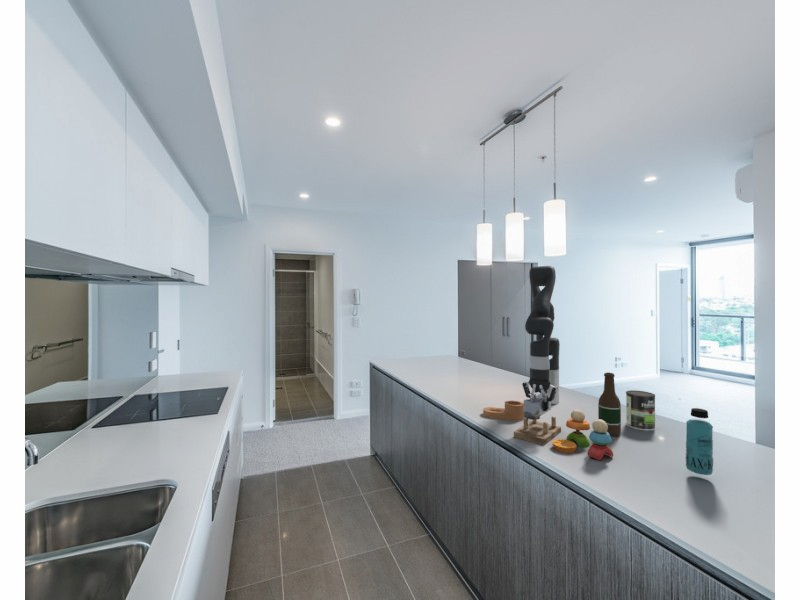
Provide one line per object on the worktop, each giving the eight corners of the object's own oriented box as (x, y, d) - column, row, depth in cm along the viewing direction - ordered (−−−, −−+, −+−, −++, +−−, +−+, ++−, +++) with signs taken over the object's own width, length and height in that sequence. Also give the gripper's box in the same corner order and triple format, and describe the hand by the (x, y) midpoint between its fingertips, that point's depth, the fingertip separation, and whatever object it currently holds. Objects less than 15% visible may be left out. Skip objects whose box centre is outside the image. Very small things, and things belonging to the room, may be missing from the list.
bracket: (524, 416, 167) (524, 401, 167) (523, 422, 159) (522, 406, 159) (485, 412, 174) (485, 397, 174) (481, 417, 166) (481, 402, 166)
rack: (531, 425, 155) (531, 410, 155) (561, 431, 147) (561, 416, 147) (513, 436, 141) (513, 421, 141) (544, 444, 133) (544, 428, 133)
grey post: (538, 407, 153) (538, 392, 153) (553, 409, 149) (553, 395, 149) (521, 417, 139) (520, 401, 140) (536, 420, 135) (536, 404, 136)
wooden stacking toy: (544, 446, 133) (544, 412, 133) (575, 438, 141) (575, 405, 141) (590, 466, 117) (590, 427, 117) (622, 455, 125) (622, 418, 125)
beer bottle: (619, 431, 147) (619, 372, 147) (622, 438, 140) (621, 375, 140) (597, 428, 150) (597, 370, 150) (599, 434, 143) (598, 374, 143)
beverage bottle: (680, 470, 113) (679, 406, 113) (699, 469, 114) (699, 405, 114) (699, 481, 106) (698, 412, 107) (719, 480, 107) (719, 412, 107)
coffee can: (661, 430, 148) (661, 395, 149) (640, 432, 146) (640, 397, 146) (640, 421, 159) (640, 389, 159) (620, 423, 156) (620, 390, 157)
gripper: (561, 367, 144) (561, 411, 144) (526, 363, 153) (526, 404, 153) (554, 370, 138) (554, 415, 138) (518, 366, 148) (518, 408, 148)
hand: (539, 409), depth 146 cm, fingers closed on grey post, 4 cm apart
